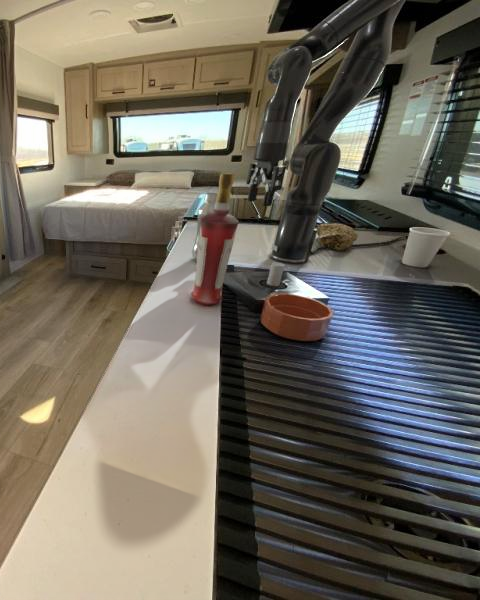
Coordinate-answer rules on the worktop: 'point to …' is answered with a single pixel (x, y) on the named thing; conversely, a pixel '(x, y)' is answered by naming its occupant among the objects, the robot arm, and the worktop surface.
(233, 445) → the worktop surface
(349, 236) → the sponge
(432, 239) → the dixie cup
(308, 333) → the bowl
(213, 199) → the plastic bottle
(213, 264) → the liquor
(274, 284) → the plug
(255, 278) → the sink plate
